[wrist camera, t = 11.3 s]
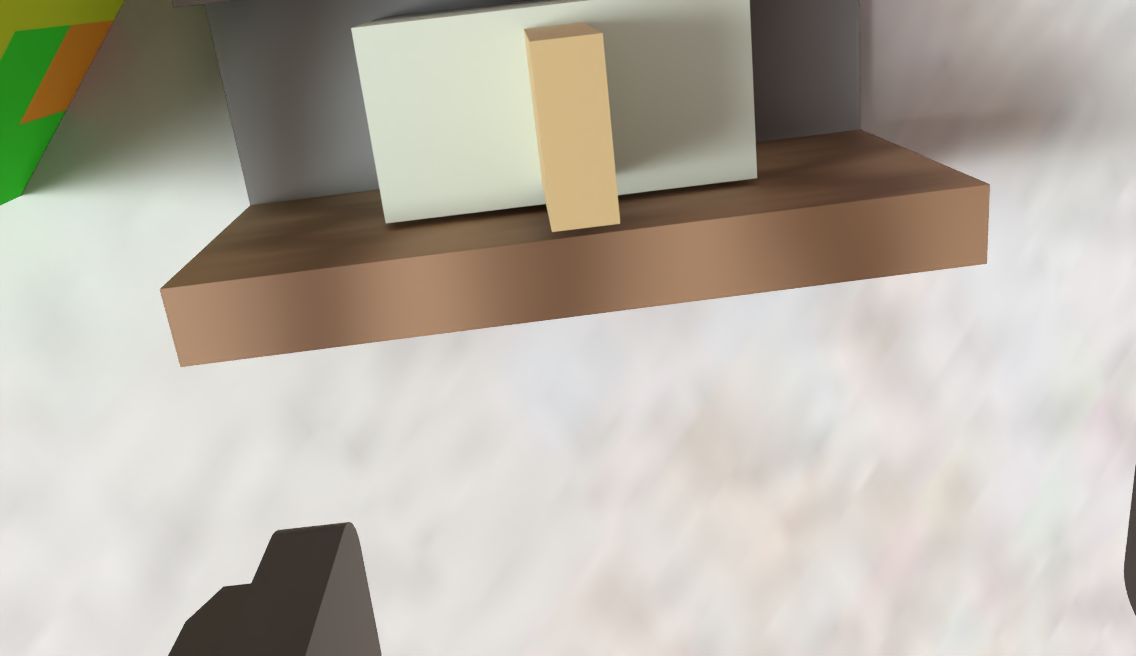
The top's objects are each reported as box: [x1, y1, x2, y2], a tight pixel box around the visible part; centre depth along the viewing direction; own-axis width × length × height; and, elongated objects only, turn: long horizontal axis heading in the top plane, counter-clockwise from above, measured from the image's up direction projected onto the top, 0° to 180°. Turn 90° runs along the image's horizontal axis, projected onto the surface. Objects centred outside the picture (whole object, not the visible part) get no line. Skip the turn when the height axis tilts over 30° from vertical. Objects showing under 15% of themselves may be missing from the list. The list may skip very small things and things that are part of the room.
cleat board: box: [160, 0, 990, 367], centre depth 27 cm, size 20×12×10 cm, turn 96°
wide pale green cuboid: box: [351, 0, 757, 232], centre depth 26 cm, size 10×5×11 cm, turn 96°
